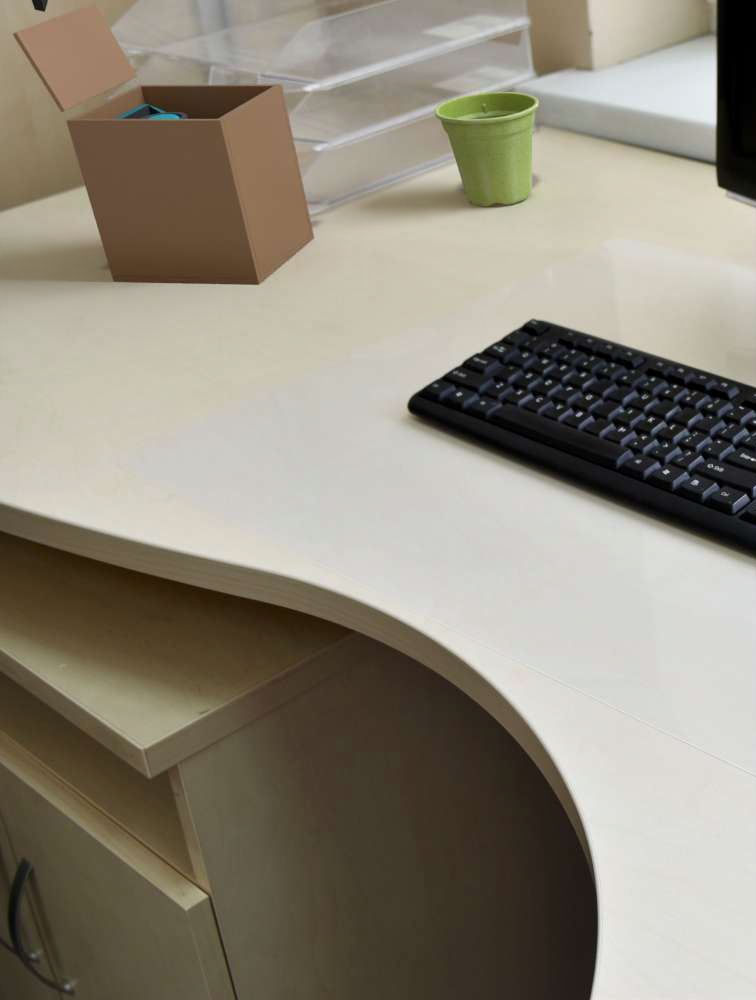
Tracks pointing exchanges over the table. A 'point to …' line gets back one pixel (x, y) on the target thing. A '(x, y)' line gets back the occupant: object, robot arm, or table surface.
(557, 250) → the table surface
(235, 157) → the carton
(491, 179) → the plant pot
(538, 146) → the table surface
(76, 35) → the flap
